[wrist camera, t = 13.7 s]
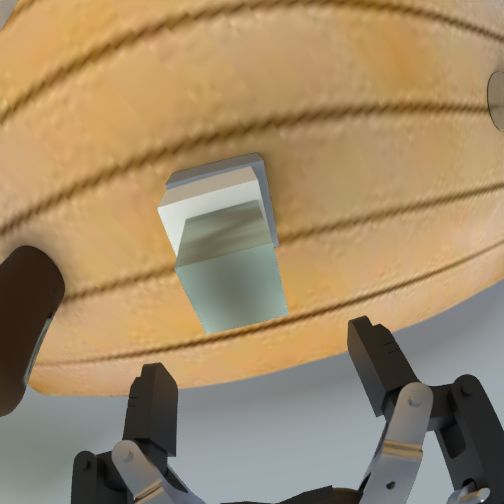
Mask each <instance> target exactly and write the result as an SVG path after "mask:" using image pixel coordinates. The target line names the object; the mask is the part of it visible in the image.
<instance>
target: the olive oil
mask: <svg viewBox="0 0 504 504" xmlns="http://www.w3.org/2000/svg"><path fill="white" fill-rule="evenodd" d="M63 296H64V282H63V279H62V276H61V274H60V272H59V270H58V269H57V267H56V266H55V264H54V263H53V262H52V261H51V259H50V258H49V257H48V256H46V255H45V254H44V253H43V252H41V251H39V250H37V249H35V248H33V247H29V246H22V247H19V248H17V249H16V250H15V251H14V252H12V253H11V254H10V255H9V256H8V257H7V258H6V260H5V261H4V262H3V263H2V264H1V265H0V417H2V416H5V415H7V414H9V413H11V412H12V411H13V410H14V409H15V408H16V407H17V405H18V404H19V403H20V401H21V400H22V398H23V395H24V393H25V390H26V386H27V383H28V380H29V377H30V374H31V371H32V368H33V365H34V363H35V360H36V357H37V354H38V352H39V349H40V347H41V344H42V342H43V339H44V337H45V335H46V332H47V330H48V328H49V326H50V323H51V321H52V319H53V317H54V315H55V313H56V311H57V309H58V307H59V305H60V303H61V301H62V299H63Z"/></svg>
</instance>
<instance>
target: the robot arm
mask: <svg viewBox="0 0 504 504" xmlns="http://www.w3.org/2000/svg"><path fill="white" fill-rule="evenodd" d="M488 103H489V109H490V114H491V117H492V119H493V122H494V124H495V125H496V127H497V128H498V129H499V130H500V131H502V132H504V72H496V73H494V74H493V75H492V77H491V79H490V81H489V86H488ZM347 345H348V350H349V354H350V356H351V359H352V361H353V363H354V366H355V368H356V370H357V372H358V375H359V377H360V379H361V382H362V384H363V386H364V389H365V391H366V394H367V396H368V398H369V401H370V403H371V405H372V408H373V411H374V413H375V415H376V417H378V416H381V415H384V417H385V420H386V423H385V426H384V429H383V432H382V435H381V438H380V440H379V443H378V446H377V448H376V451H375V453H374V456H373V458H372V460H371V463H370V465H369V466H368V468H367V471H366V473H365V475H364V477H363V479H362V481H361V483H360V485H359V488H358V490H354V489H348V488H332V485H331V486H327V487H323V488H319V489H315V490H311V491H307V492H303V493H301V494H299V495H297V496H294V497H292V498H290V499H287V500H285V501H282V502H280V503H276V504H406V501H407V499H408V497H409V494H410V492H411V489H412V487H413V484H414V481H415V479H416V476H417V473H418V470H419V467H420V464H421V461H422V457H423V451H422V445H423V441H424V437H425V434H426V432H427V431H432V430H434V432H435V434H436V437H437V439H438V442H439V445H440V447H441V451H442V453H443V456H444V459H445V462H446V465H447V468H448V471H449V474H450V477H451V480H452V484H453V487H454V492H453V493H452V494H451V495H450V497H449V498H448V501H447V503H446V504H504V431H503V428H502V426H501V424H500V421H499V419H498V417H497V415H496V413H495V411H494V409H493V406H492V405H491V402H490V400H489V398H488V397H487V394H486V393H485V391H484V389H483V387H482V385H481V383H480V381H479V380H478V379H477V378H476V377H475V376H472V375H469V374H466V375H462V376H460V377H458V378H457V379H456V380H455V382H454V383H453V384H447V385H441V386H428V385H426V384H423V383H422V382H420V381H419V380H418V379H417V377H416V375H415V374H414V372H413V370H412V368H411V367H410V365H409V363H408V361H407V359H406V358H405V356H404V354H403V352H402V351H401V350H400V347H399V346H398V344H397V342H396V341H395V339H394V337H393V336H392V334H391V332H390V331H389V330H388V329H387V328H385V327H384V326H383V325H381V324H377V325H375V326H373V325H372V324H371V322H370V320H369V318H368V317H367V316H362V317H359V318H356V319H352V320H349V321H348V339H347ZM177 403H178V388H177V384H176V382H175V380H174V379H173V377H172V376H171V375H170V374H169V372H168V371H167V370H166V368H165V367H164V366H163V364H162V363H152V364H145V365H143V367H142V372H141V377H136V378H135V380H134V382H133V384H132V385H131V388H130V393H129V400H128V408H127V412H126V419H125V427H124V434H123V438H122V441H120V442H118V443H117V444H116V445H115V446H114V448H113V450H112V451H109V452H105V453H102V454H98V455H95V454H93V453H91V452H89V451H82V452H80V453H78V454H77V456H76V457H75V459H74V465H73V476H72V491H71V504H206V503H205V502H204V501H203V500H202V499H200V498H199V497H198V496H196V495H195V494H194V493H193V492H191V490H190V489H189V488H188V487H187V486H186V485H185V484H184V483H183V481H182V480H181V479H180V478H179V477H178V475H177V474H176V473H175V472H174V470H173V469H172V468H171V467H170V466H169V464H168V463H167V457H176V430H177ZM133 497H135V500H134V498H133ZM221 504H271V503H258V502H248V501H246V502H234V503H221Z"/></svg>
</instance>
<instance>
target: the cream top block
mask: <svg viewBox="0 0 504 504" xmlns="http://www.w3.org/2000/svg"><path fill="white" fill-rule="evenodd" d="M253 200H257V201H258V204H259V207H260V209H261V212H262V215H263V217H264V220H265V223H266V226H267V228H268V231H269V226H268V222H267V218H266V213H265V209H264V205H263V200H262V196H261V192H260V187H259V183H258V179H257V177H256V175H255V173H254V171H253V169H252V167H251V166H249V167H245V168H241V169H237V170H233V171H229V172H226V173H222V174H218V175H215V176H211V177H207V178H204V179H201V180H197V181H194V182H190V183H187V184H184V185H181V186H177V187H174V188H171V189H168V190H166V192H165V194H164V196H163V197H162V199H161V201H160V203H159V205H158V207H157V210H158V213H159V215H160V218H161V220H162V223H163V225H164V228H165V230H166V233H167V235H168V237H169V240H170V242H171V245H172V247H173V249H174V252H175V254H176V256H177V255H178V250H179V246H180V241H181V237H182V233H183V228H184V224H185V220H186V219H188V218H192V217H195V216H199V215H202V214H206V213H209V212H213V211H216V210H220V209H223V208H227V207H231V206H234V205H238V204H242V203H246V202H249V201H253ZM269 234H270V231H269ZM270 237H271V235H270Z"/></svg>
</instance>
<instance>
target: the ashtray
mask: <svg viewBox="0 0 504 504" xmlns="http://www.w3.org/2000/svg"><path fill="white" fill-rule="evenodd" d="M17 2H18V0H0V31H1V29H2V28H3V26H4V25H5V23H6V22H7V20H8V18H9V16H10V15H11V13H12V11H13V9H14V7H15V5H16V4H17Z"/></svg>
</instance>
